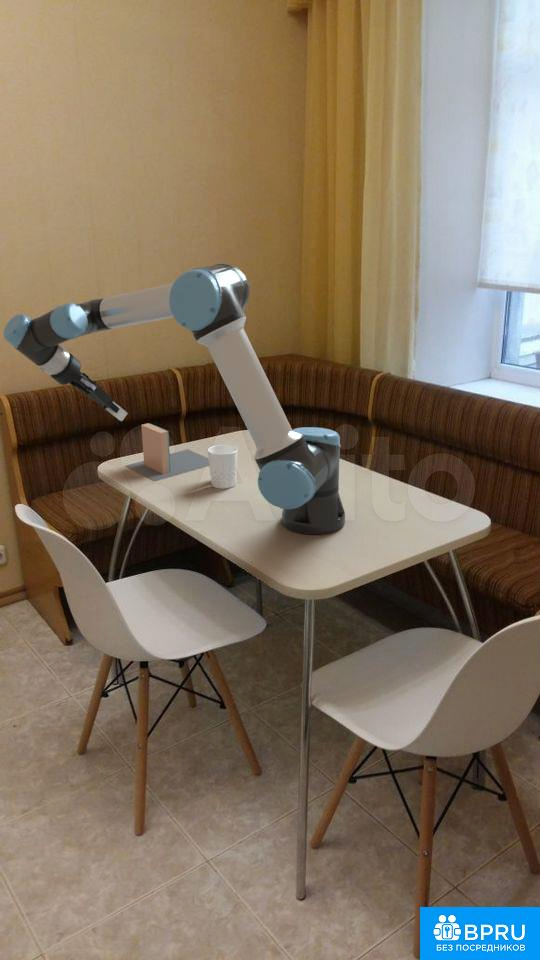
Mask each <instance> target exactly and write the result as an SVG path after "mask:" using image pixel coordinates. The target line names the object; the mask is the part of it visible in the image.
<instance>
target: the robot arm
mask: <svg viewBox="0 0 540 960" xmlns="http://www.w3.org/2000/svg"><path fill="white" fill-rule="evenodd" d="M250 286H251V285H250V283H249V281H248V278H247V275H245V273H244V272H243V271H242V270H241V269H239V267H237V266H235V265H232V264H228V263H218V264H213V265H209V266H202V267H200V266H199V267H194V268H192V269H190V270H188V271H185V272H182V273H181V275H179V276H178V277H176V279H175V281H174V282H173V283H168V284H164V285H158V286H154V287H149V288H144V289H141V290H140V289H139V290H135V291H131V292H126V293H122V294H117V295H112V296H109V297H108V296H107V297H104V298H97V299H91V300H89V301H84V302H81V303H76V304H75V303H74V302H66V303H65V304H62V305H58V306H56V307H55V308H54V309H52V310H50V311H48V312H46V313H44V314H42V315H40V316H38V317H34V318H33V319H31V317H29V316H27V315H25V314H23V313H18V314H16V315H14V316H13V317H12V318H10V319H9V321H8V322H7V323H6V325H5V326H4V329H3V334H2V335H3V338H4V339H5V341H6V342H7V343H9V344H10V345H11V346H12V347H13V348H14V349H15V350H17V351H18V352H19V353H21V354H22V356H25V357H26V358H27V359H28V360H30V361H31V362H32V363H33V364H35V366H38V368H39V372H41V373H42V372H45V374H47V375H49V376H50V377H51V378H52V379H53V380H54V381H55V382H57V383H58V384H60V385H62V386H66V385H69V384H70V385H71V386H72V387H74V388H76V390H78V391H80V392H82V394H84V395H86V396H87V398H90V399H91V400H92V401H93V402H94V403H97V404H98V405H99V406H102V409H103V410H104V411H107V412H109V414H111V415H112V416H113V417H115V418H116V419H117V420H118V421H120V422H123V421H124V419H125V418H126V416H127V415H128V414H129V413H128V412H127V411H126V410H124V408H122V407H121V406H120V405H119V404H117V403H116V402H115V399H114V398H113V397H111V396H110V395H109V394H108V393H107V392H106V391H105V390H103V388H101V386H100V385H98V383H97V382H96V381H95V380H92V379H91V378H89V376H88V375H87V374H86V373H85V372H81V369H82V362H81V361H80V360H79V359H78V358H77V357H75V355H73V354H72V353H70V352H69V350H68V349H66V348H65V347H64V346H63V345H62V343H65V342H68V341H71V340H74V339H77V338H80V337H84V336H88V335H91V334H94V333H98V332H104V331H109V330H113V329H114V330H115V329H118V328H119V329H120V328H123V327H129V326H135V325H140V324H144V323H151V322H155V321H156V322H157V321H162V320H167V319H168V320H169V319H172V318H173V319H174V320H175V321H176V323H178V324H179V326H181V327H184V328H185V329H187V330H189V331H191V333H192V335H193V337H194V339H195V341H196V343H198V344H200V345H203V346H205V347H206V348H207V349H208V351H209V354H210V356H211V358H212V360H213V361H214V363H215V366H216V368H217V369H218V372H219V374H220V375H221V377H222V380H223V382H224V384H225V386H226V388H227V390H228V392H229V394H230V396H231V397H232V400H233V402H234V405H235V406H236V408H237V410H238V412H239V414H240V416H241V419H242V420H243V422H244V424H245V427H246V428H247V430H248V432H249V434H250V437H251V439H252V441H253V443H254V445H255V446H256V450H255V454H254V455H253V458H254V461H255V463H256V465H257V467H258V469H259V472H258V478H257V486H258V491H259V493H260V494H261V495H262V497H263V498H264V500H265V501H267V502H268V503H269V504H270V505H272V506H274V507H277V508H280V509H281V510H282V512H281V523H282V524H283V526H284V527H285V528H286V529H288V530H290V531H292V532H294V533H298V534H303V535H304V534H305V535H326V534H331V533H334V532H337V531H339V530H340V529H342V528H343V527H344V526H345V523H346V512H345V509H344V505H343V501H342V499H341V496H340V492H339V491H340V489H339V485H340V483H339V482H340V458H341V450H340V449H341V447H342V446H341V441H340V440H341V437H340V435H339V433H338V432H336V431H335V430H332V429H329V428H325V427H314V426H313V427H310V426H309V427H297V428H293V429H292V427H291V424H290V423H289V420H288V418H287V416H286V414H285V412H284V410H283V408H282V406H281V403H280V402H279V400H278V397H277V396H276V393H275V391H274V389H273V387H272V385H271V383H270V380H269V379H268V377H267V375H266V372H265V371H264V369H263V366H262V365H261V362H260V360H259V358H258V356H257V354H256V352H255V350H254V348H253V346H252V343H251V341H250V339H249V338H248V335H247V333H246V331H245V328H244V327H245V323H246V321H247V316H246V314H245V312H244V309H245V308H246V307H247V305H248V303H249V300H250V296H251V295H250V294H251V289H250Z"/></svg>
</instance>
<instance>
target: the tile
mask: <svg viewBox="0 0 540 960" xmlns="http://www.w3.org/2000/svg"><path fill="white" fill-rule="evenodd" d="M169 433H170V432H169V430H166V429H165V428H161V427H159V426H157V425H154V424H152V423H149V422H148V423H144V424H141V439H142V453H143V461H144V465H146V466H148V467H150V468H152V469H154V470H156V471H158V472H160V473H162V474H166V473H169V472H171V468H170V454H171V452H170V435H169Z"/></svg>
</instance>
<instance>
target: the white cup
mask: <svg viewBox="0 0 540 960" xmlns="http://www.w3.org/2000/svg"><path fill="white" fill-rule="evenodd" d="M207 453H208V454H207V456H208V457H207V458H209V466H208V468H209V476H210V483H211V486H212V487H214V488H215V489H222V490H225V489H231V488H233V487H235V486H237V475H238V447H236V446H234V445H230V444H218V445H213V446H210V447H209V448H208V449H207Z"/></svg>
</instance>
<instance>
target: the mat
mask: <svg viewBox="0 0 540 960" xmlns="http://www.w3.org/2000/svg"><path fill="white" fill-rule="evenodd" d="M124 467H126V469H127V468H128V469H129V470H131V471H132V472H135V473H138V474H139V475H141V476H144V477H145V478H147V479H148V480H150V481H153V482H158V481H161V480H165V479H169V478H172V477H175V476H178V475H182V474H185V473H190V472H193V471H196V470H200V469H204V468H207V467H209V457H207V456H204V455H203V454H200V453H197V452H196V451H192V450H191V449H183V450H181V451H177V452H172V453H170V468H171V472H169V473H166V474H162V473H160V472H158V471H156V470H154V469H152V468H150V467H148V466H146V465H144V460H141V461H138V462H134V463H130V464H126V465H124Z"/></svg>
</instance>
